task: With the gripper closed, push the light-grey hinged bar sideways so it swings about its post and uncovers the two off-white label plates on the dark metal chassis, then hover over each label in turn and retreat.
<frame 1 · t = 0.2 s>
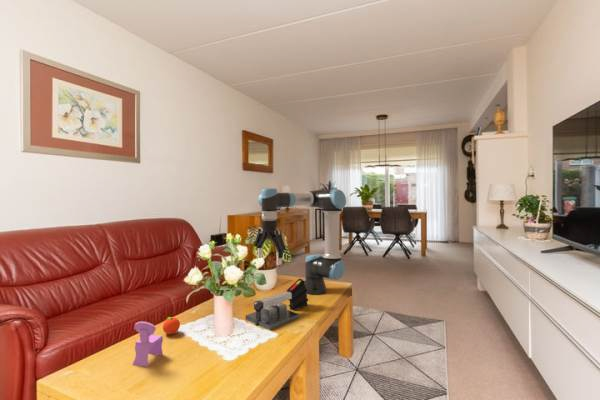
hand: (269, 262, 148), 27 cm above the table, tool pointing down, fingers open, 13 cm apart
swing arm: (272, 300, 148), point 9 cm above the table, hinge at 0.0°
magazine: (297, 308, 163), on the table
toy chair: (148, 359, 111), on the table
tomato: (170, 333, 132), on the table
chassis: (272, 318, 148), on the table
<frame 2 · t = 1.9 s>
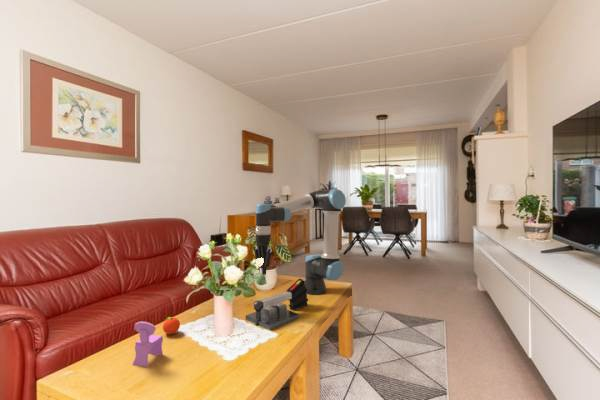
hand: (262, 280, 152), 18 cm above the table, tool pointing down, fingers closed
nothing on the table moved.
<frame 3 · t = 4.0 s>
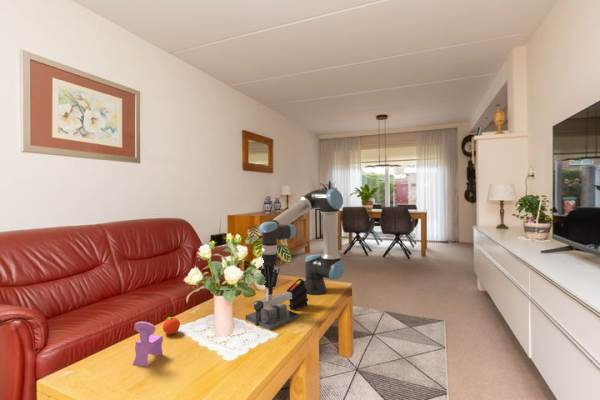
hand: (268, 300, 150), 8 cm above the table, tool pointing down, fingers closed
swing arm: (273, 300, 148), point 9 cm above the table, hinge at 0.9°, touching gripper
everything else where it was.
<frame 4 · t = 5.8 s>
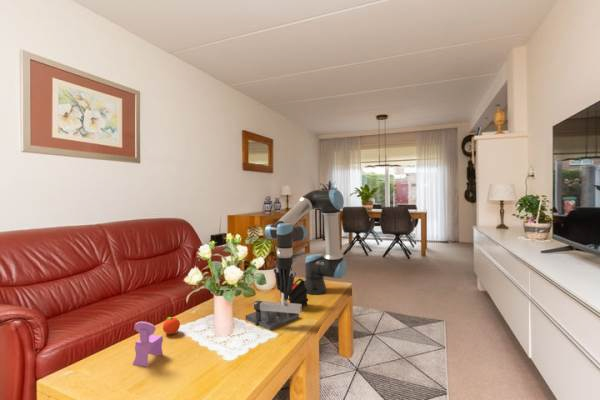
hand: (284, 305, 142), 8 cm above the table, tool pointing down, fingers closed
swing arm: (277, 306, 139), point 9 cm above the table, hinge at 59.9°, touching gripper
everything else where it was.
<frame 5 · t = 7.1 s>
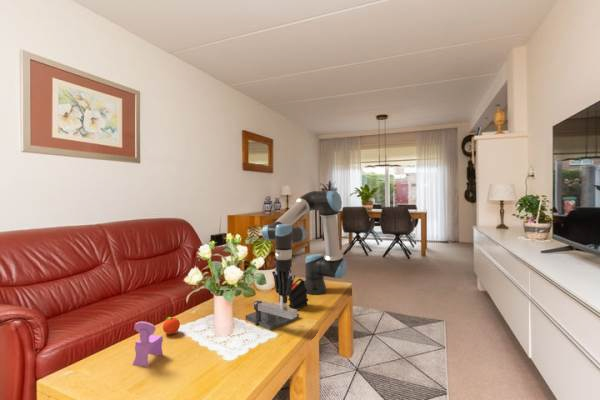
hand: (283, 309, 138), 8 cm above the table, tool pointing down, fingers closed
swing arm: (273, 309, 136), point 9 cm above the table, hinge at 80.0°, touching gripper
everything else where it was.
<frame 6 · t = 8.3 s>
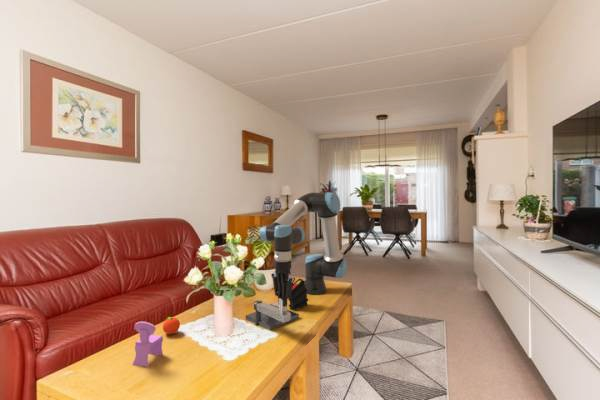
hand: (282, 312, 134), 8 cm above the table, tool pointing down, fingers closed
swing arm: (270, 310, 135), point 9 cm above the table, hinge at 93.3°, touching gripper
everything else where it was.
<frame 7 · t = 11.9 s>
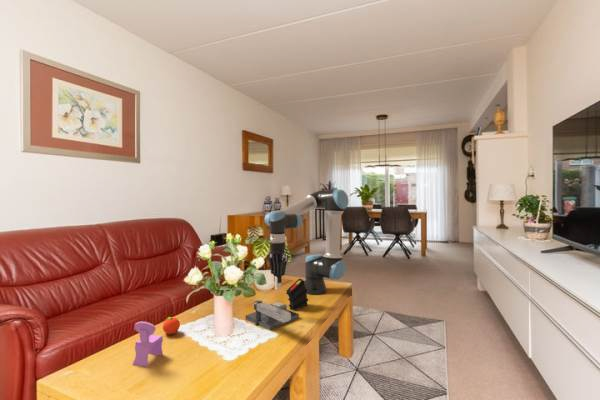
hand: (277, 288, 151), 14 cm above the table, tool pointing down, fingers closed
swing arm: (270, 310, 135), point 9 cm above the table, hinge at 93.3°
everything else where it was.
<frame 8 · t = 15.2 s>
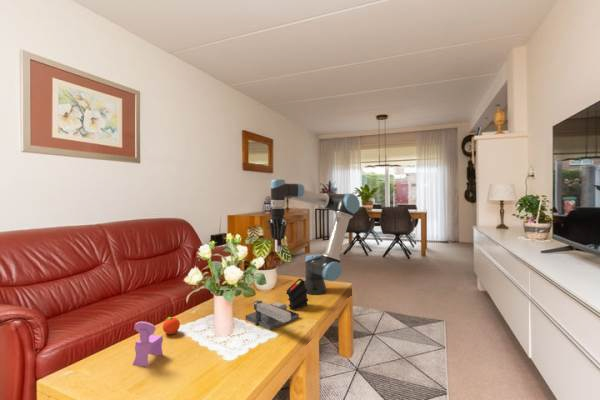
hand: (277, 251, 163), 30 cm above the table, tool pointing down, fingers closed
nothing on the table moved.
at the end: swing arm at +93° (first picture: +0°); the gripper is holding nothing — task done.
